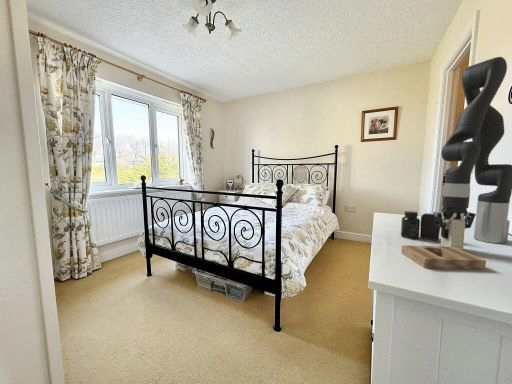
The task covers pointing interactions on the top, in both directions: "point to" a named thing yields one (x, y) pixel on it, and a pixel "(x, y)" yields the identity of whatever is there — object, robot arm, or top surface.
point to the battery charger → (429, 227)
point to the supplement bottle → (410, 225)
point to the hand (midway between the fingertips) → (451, 237)
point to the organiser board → (443, 257)
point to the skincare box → (455, 234)
